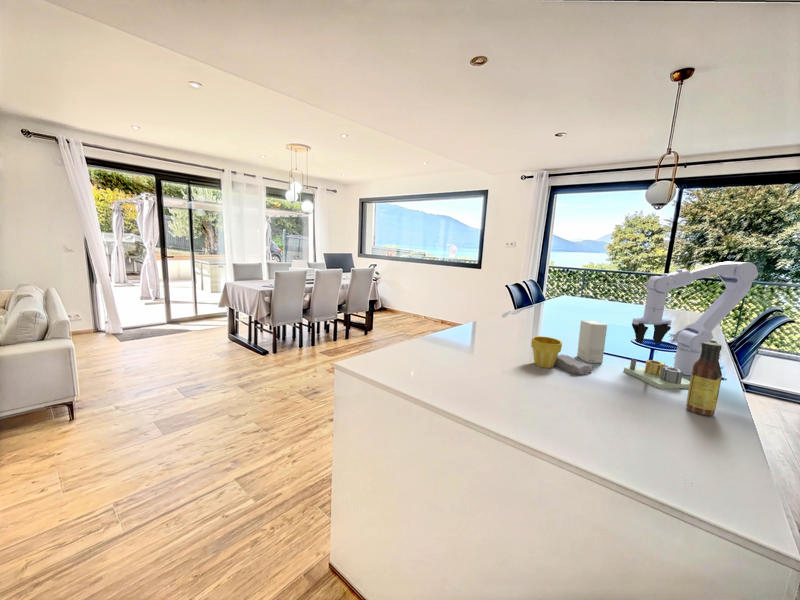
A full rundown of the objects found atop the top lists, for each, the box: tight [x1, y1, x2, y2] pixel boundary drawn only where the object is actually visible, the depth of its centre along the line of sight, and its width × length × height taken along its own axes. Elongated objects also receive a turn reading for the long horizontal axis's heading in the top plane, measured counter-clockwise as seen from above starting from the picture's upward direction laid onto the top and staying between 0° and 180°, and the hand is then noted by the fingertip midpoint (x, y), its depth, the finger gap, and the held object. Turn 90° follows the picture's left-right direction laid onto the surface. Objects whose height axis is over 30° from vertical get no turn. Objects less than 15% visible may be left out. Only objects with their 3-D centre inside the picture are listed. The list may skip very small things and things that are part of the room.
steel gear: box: [660, 365, 684, 384], centre depth 113 cm, size 5×5×4 cm
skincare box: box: [576, 320, 608, 364], centre depth 135 cm, size 8×7×16 cm
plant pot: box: [530, 335, 563, 369], centre depth 126 cm, size 10×10×10 cm
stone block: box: [553, 354, 593, 376], centre depth 125 cm, size 12×5×10 cm
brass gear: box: [644, 359, 666, 376], centre depth 120 cm, size 5×5×4 cm
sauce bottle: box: [685, 341, 723, 417], centre depth 94 cm, size 7×6×20 cm
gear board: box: [623, 358, 690, 390], centre depth 118 cm, size 14×15×6 cm
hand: (647, 342), depth 129 cm, fingers open, 7 cm apart
